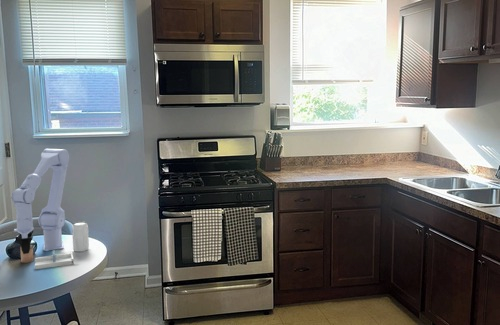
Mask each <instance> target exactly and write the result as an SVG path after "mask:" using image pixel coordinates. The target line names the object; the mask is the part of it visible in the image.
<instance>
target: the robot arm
mask: <svg viewBox="0 0 500 325" xmlns="http://www.w3.org/2000/svg"><path fill="white" fill-rule="evenodd" d="M69 162H70V153H69V152H68V150H67V149H65V148H62V149H60V148H49V147H48V148H45V149H44V150H43V151H42V152H41V153H40V161H39V163H38V164H37V166H36V168H35V170H33V173H30V174H28V175H27V176H26V178H25V179H24V181H23V182H22V183H21V185H20V186H19V188H16V189H15V190H13V192H12V195H11V196H10V197H11V201H12V203H13V206H14V208H15V215H16V216H15V218H16V228H14V229H13V232H15V233H16V232H17V234H19V236H17V237H16V240H17V242H18V243H19V245H20V247H21V248H22V252H23V254H27V253H29V251H30V245H32V244H31V243H32V241H33V238H34V236H33V233H34V229H35V228H34V221H33V208H32V203H33V202H34V200H35V198H36V196H35V195H36V191H37V190H38V188H39V186H40V185H41V184H42V177H43V176H44V175H45V174H46V172H47V171H48V170H49V169H51V170H52V171H53V172H52V178H51V182H50V189H49V195H48V199H47V200H48V201H47V205H46V206H45V207H43V208H42V209H41V210H40V211H41V212H40V214H39V216H38V219H37V220H38V225H39V227H41V229H42V230H43V251H45V252H46V251H47V252H48V251H53V250H55V251H56V250H63V249H64V242H63V237H62V233H63V232H62V228H63V226H64V225H65V223H66V216H65V214H66V212H65V210H64V209H63V208H62V207H61V205H62V204H61V203H62V198H63V191H64V188H65V187H64V186H65V181H66V177H67V172H68V171H67V169H68V168H69Z"/></svg>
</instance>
